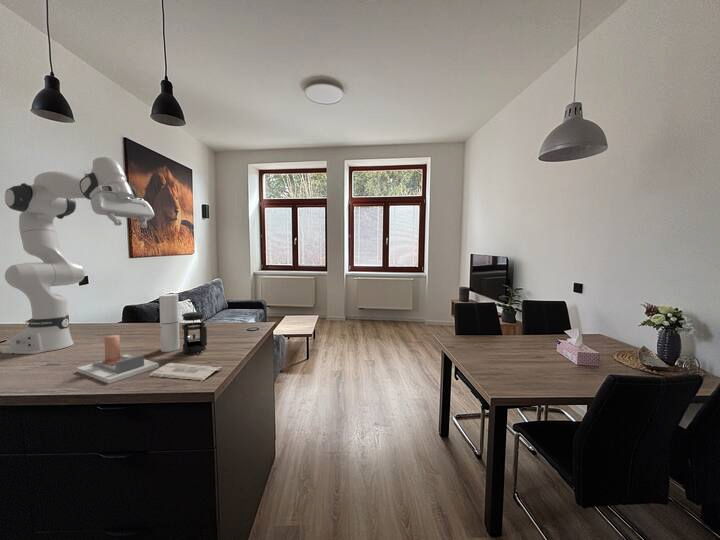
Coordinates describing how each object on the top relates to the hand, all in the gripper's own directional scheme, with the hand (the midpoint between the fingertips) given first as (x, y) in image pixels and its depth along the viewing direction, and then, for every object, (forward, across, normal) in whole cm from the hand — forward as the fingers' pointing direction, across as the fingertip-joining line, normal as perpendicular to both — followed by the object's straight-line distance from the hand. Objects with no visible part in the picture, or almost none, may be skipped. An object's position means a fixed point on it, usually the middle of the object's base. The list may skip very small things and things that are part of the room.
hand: (132, 226), depth 112 cm
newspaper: (+61, -1, -4) cm, 61 cm away
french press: (+52, -19, -18) cm, 59 cm away
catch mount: (+48, +6, -26) cm, 55 cm away
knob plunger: (+44, +6, -29) cm, 53 cm away
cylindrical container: (+46, -17, -29) cm, 57 cm away
